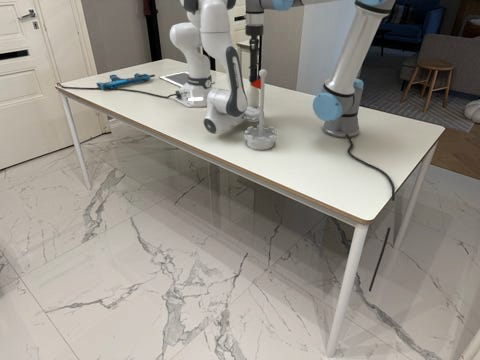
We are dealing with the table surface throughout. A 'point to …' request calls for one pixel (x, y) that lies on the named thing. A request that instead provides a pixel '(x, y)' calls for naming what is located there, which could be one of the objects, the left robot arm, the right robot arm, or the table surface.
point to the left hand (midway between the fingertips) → (253, 106)
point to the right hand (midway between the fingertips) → (253, 81)
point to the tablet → (177, 78)
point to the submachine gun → (124, 81)
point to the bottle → (253, 96)
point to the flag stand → (260, 122)
